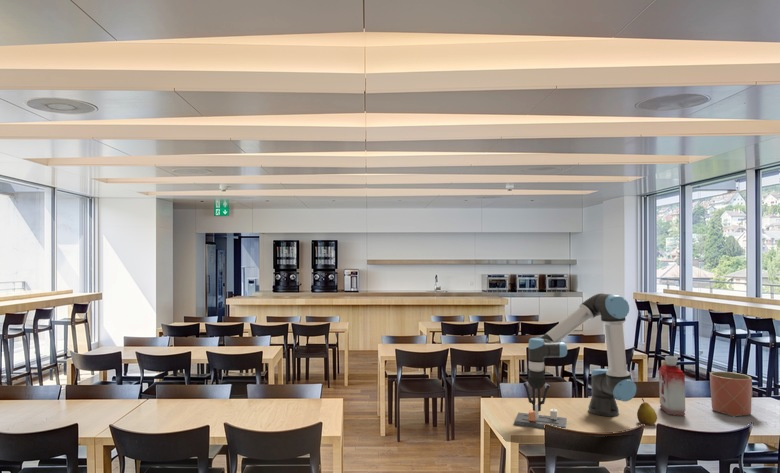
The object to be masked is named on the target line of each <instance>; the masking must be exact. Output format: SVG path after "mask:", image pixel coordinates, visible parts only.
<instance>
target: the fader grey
mask: <svg viewBox="0 0 780 473" xmlns="http://www.w3.org/2000/svg"><path fill="white" fill-rule="evenodd" d="M549 411H550V415H549V416H550V419H555V420H557V417H558V409H556V408H550V410H549Z"/></svg>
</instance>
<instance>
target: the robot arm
mask: <svg viewBox="0 0 780 473" xmlns="http://www.w3.org/2000/svg"><path fill="white" fill-rule="evenodd" d="M629 313H630V305H629V302H628V301H627V299H626V298H624V297H623V296H621V295H618V294H612V293H611V294H610V293H597V294H594V295H592V296H590V297H589V298H588V299H586V300H585V301H583V302H581V304H579V306H578V308H577V309H575V311H574V312H572V313H571V314H569V315H568V316H567V317H565V318H564V319H563V320H561V321H560V322H559V323H558V324H556V325H555V326H554V327H552V328H551V329H550V330H548V331H547V332H546V333H544V334H543V335H541V336H539V337H538V336H537V337H531V338H529V339H528V369H529V370H528V379H527V380H526V381H525V382H523V386H524V388H525V392H526V395H527V398H528V403H529V404H532V411H535V418H538V417H539V415H540V414H539V413H540V412H541V410H542V406H541V405H544V404H545V402H546V397H547V394H548V390H549V389H550V386H551V384H548V383H547V382H546V380H545V359H547V358H564V357H566V356H567V355H568V347H567V344H566V343H565V342H564V341H562V340H563V339H564V338H566V337H568V335H570V334H571V333H573V332H574V331H575V330H577V329H578V328H580V327H581V326H582V325H583V324H584V323H586V322H588V321H589V320H593V319H594V318H595V317H598V316H600V320H601V322H602V323H603V324H604V330H605V331H604V332H605V341H606V342H605V343H606V354H607V364H608V368H595V369H592V371H591V376H590V378H591V398H590V401H589V404H588V412H589V413H591V414H593V415H596V416H603V417H615V416H619V414H620V413H619V412H620V410H619V406H618V404H617V401H621V402H628V401H631V400H632V399H633V398H634V397H635V395H636V394H637V384H636V383H635V382H634V381H633V380H632V377H631V372H630V371H629V370H628V369H627V368H628V367H627V358H626V345H625V333H624V325H623V324H624V323H625V322H626V321H627V320H626V317H627V316H628V315H629ZM529 385H530V387H531V391H532V396H531V391H530V387H529ZM543 387H544V388H545V389H544V391H543V395H541V394H542V391H541V390H542V388H543ZM536 389H537V398H536ZM536 399H537V402H536Z"/></svg>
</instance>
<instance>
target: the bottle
mask: <svg viewBox="0 0 780 473" xmlns="http://www.w3.org/2000/svg"><path fill="white" fill-rule="evenodd" d="M664 360H665V364H663V365H661V366H660V367H659V368H658V373H659V374H658V378H659V380H658V381H659V382H658V384H659V407H660V408H661V409H662V410H663V411H665V413H667V414H668V415H669V416H674V417H675V416H678V417H684V416H685V415H686V413H685V412H686V382H685V381H686V380H685V379H686V377H685V375H686V374H685V373H684V371H683V370H681V369H680V368H679V367H678V366H676V365H677V363H678V357H677V356H674V355H666V356H664Z"/></svg>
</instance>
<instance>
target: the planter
mask: <svg viewBox="0 0 780 473" xmlns="http://www.w3.org/2000/svg"><path fill="white" fill-rule="evenodd" d="M752 379H753V378H752V377H751V376H749V375H747V374H744V373H739V372H738V373H737V372H731V371H712V372H709V382H710V383H709V384H710V398H711V399H710V400H711V401H710V402H711V409H712V411H715V412H717V413H721V414H725V415H728V416H730V417H733V416H736V417H737V416H750V415H749V414H751V415H752V391H753V390H752V389H753V388H752V387H753V384H752V382H753V380H752Z"/></svg>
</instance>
